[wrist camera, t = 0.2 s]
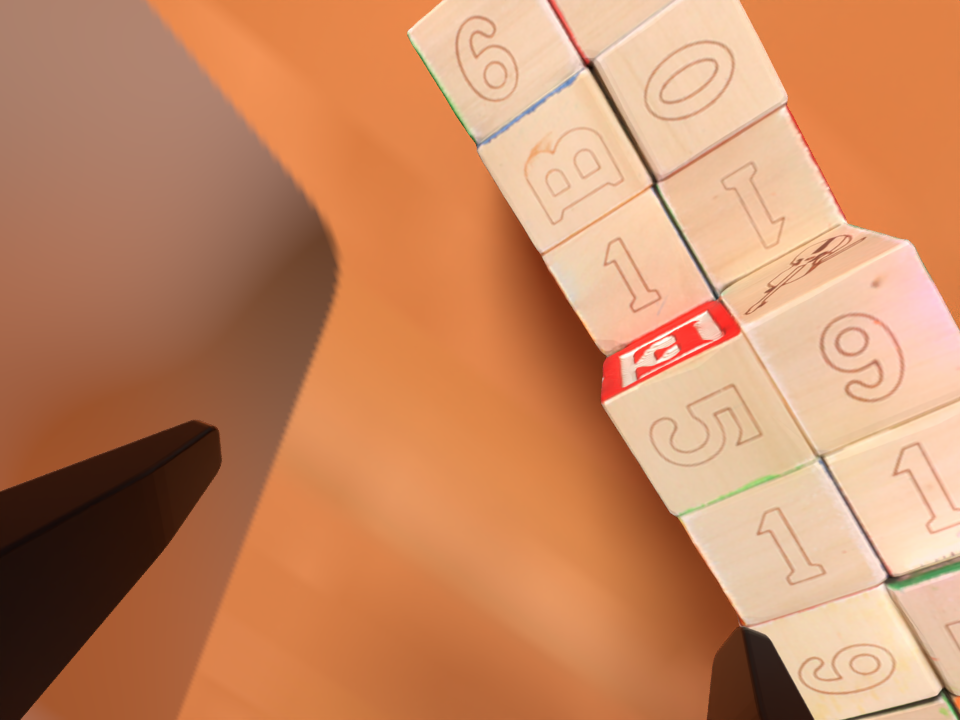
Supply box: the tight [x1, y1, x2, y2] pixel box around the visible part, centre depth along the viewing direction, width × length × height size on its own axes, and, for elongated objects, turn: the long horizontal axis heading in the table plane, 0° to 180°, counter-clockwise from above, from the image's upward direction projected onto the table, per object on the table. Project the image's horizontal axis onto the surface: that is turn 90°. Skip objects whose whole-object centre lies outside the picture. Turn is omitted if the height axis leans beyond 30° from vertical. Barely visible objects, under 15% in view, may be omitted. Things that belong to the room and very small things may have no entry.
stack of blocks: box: [408, 0, 960, 720], centre depth 17 cm, size 21×6×12 cm, turn 33°
